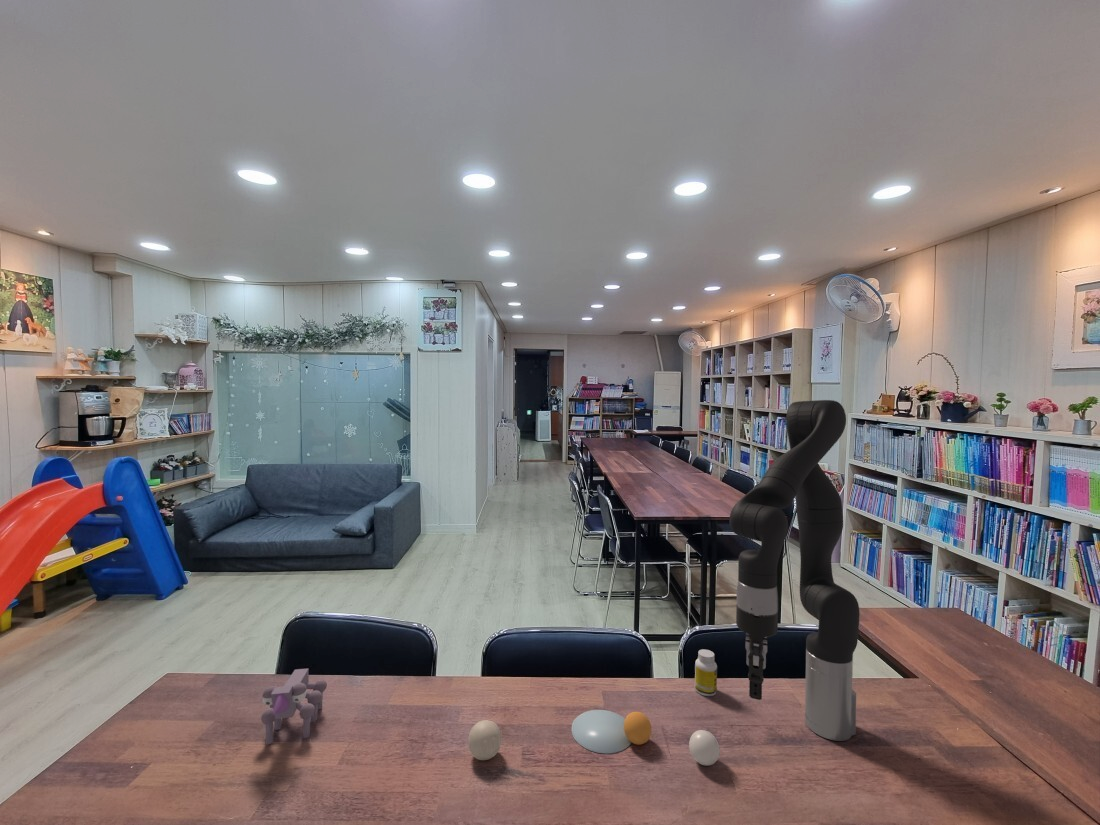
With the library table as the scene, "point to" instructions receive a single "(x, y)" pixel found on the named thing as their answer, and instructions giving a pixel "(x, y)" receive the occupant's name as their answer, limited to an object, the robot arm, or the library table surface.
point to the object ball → (637, 728)
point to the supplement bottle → (706, 673)
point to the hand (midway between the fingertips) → (755, 690)
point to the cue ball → (704, 747)
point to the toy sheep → (292, 702)
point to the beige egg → (484, 740)
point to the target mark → (600, 731)
